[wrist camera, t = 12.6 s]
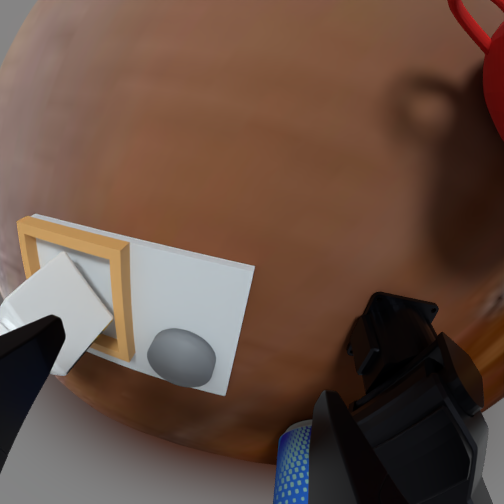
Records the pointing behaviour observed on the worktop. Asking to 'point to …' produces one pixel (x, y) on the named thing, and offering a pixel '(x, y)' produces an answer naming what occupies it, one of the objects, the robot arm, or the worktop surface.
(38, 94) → the worktop surface
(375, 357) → the robot arm
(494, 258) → the worktop surface
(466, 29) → the ceramic cup
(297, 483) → the beer can
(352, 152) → the worktop surface
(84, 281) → the medicine bottle
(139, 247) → the plate with orange frame
